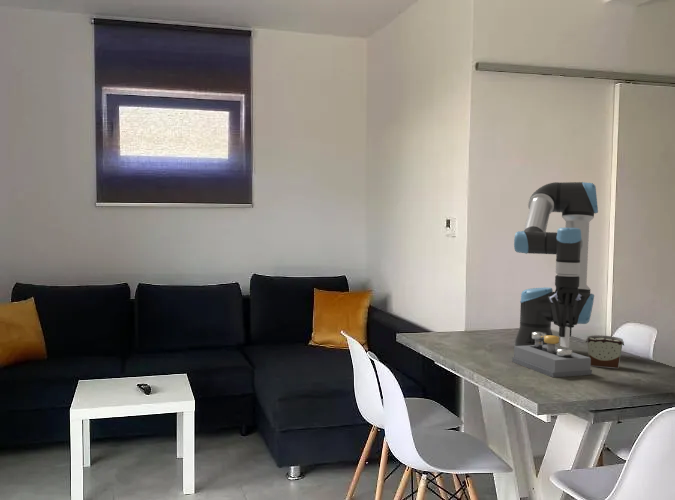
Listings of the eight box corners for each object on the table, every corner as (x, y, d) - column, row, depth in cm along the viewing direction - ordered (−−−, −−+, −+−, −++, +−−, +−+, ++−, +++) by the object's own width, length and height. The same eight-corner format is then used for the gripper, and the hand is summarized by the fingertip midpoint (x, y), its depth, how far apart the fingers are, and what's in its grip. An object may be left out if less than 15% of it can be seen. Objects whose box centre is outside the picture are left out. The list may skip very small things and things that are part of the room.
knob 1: (540, 348, 241) (540, 331, 240) (548, 350, 236) (549, 333, 236) (528, 348, 239) (529, 332, 239) (536, 351, 234) (537, 334, 234)
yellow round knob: (552, 352, 234) (553, 335, 234) (561, 355, 229) (562, 337, 229) (540, 352, 232) (541, 335, 232) (549, 355, 228) (550, 338, 228)
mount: (548, 359, 244) (548, 344, 244) (591, 374, 223) (592, 357, 222) (512, 361, 240) (512, 346, 239) (552, 377, 218) (553, 360, 218)
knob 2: (565, 365, 227) (565, 347, 227) (574, 368, 223) (575, 350, 223) (553, 366, 226) (553, 348, 226) (562, 369, 221) (563, 351, 221)
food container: (622, 365, 238) (623, 336, 237) (623, 368, 232) (624, 339, 232) (584, 362, 242) (585, 333, 241) (584, 365, 236) (585, 336, 236)
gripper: (576, 273, 228) (573, 343, 230) (543, 274, 224) (540, 345, 226) (591, 275, 221) (588, 347, 223) (557, 276, 217) (555, 350, 219)
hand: (564, 346), depth 224 cm, fingers closed
